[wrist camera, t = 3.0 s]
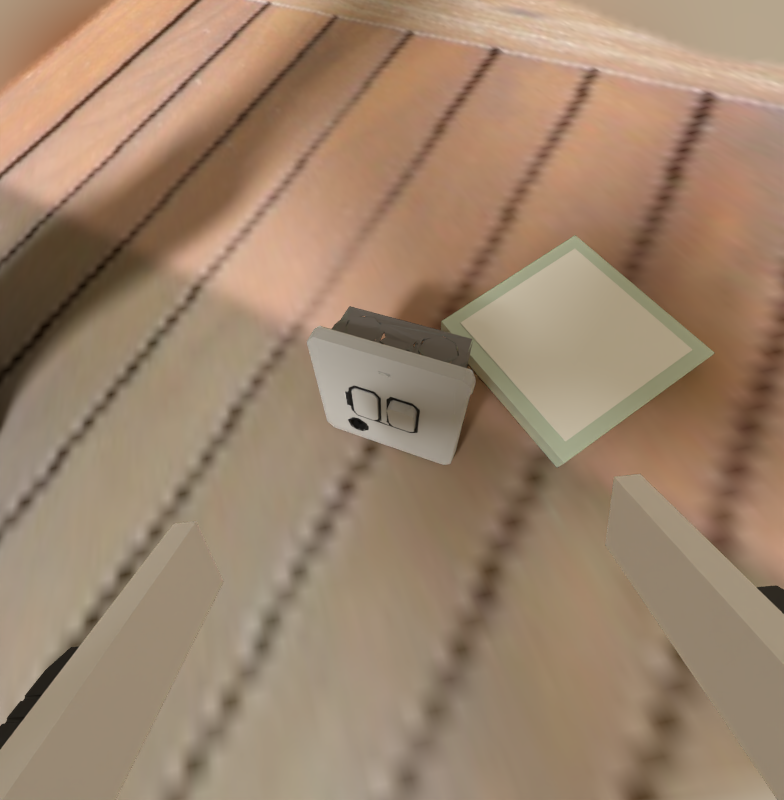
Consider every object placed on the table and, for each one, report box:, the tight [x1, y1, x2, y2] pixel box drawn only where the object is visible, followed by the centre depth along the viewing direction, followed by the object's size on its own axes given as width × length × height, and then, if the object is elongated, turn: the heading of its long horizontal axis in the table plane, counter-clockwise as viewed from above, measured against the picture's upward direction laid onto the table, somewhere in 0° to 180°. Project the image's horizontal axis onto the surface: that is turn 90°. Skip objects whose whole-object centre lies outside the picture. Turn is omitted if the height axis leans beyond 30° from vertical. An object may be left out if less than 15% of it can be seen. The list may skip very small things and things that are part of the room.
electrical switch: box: [307, 306, 476, 465], centre depth 23 cm, size 9×5×9 cm, turn 69°
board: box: [441, 235, 715, 467], centre depth 27 cm, size 13×13×2 cm
